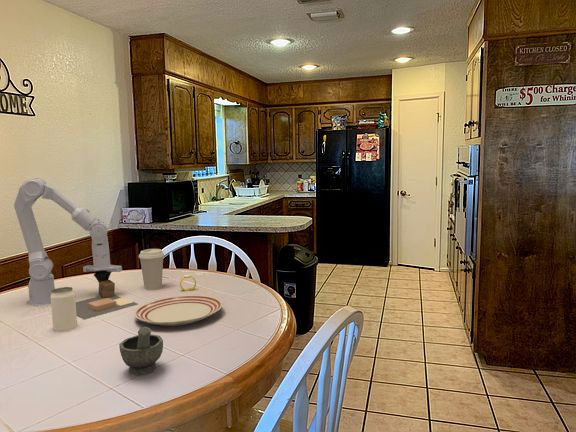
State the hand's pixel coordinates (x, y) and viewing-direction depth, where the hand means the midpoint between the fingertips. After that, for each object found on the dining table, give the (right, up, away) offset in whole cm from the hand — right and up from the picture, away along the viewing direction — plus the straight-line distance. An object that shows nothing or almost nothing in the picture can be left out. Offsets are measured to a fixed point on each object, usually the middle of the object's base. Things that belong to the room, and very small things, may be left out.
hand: (104, 290), depth 164 cm
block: (+2, -2, -2) cm, 3 cm away
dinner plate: (+34, -5, -23) cm, 41 cm away
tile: (+3, -2, -12) cm, 13 cm away
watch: (+30, -1, +5) cm, 30 cm away
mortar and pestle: (+34, -9, -60) cm, 70 cm away
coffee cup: (+16, -1, +8) cm, 18 cm away
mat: (+3, -4, -12) cm, 13 cm away
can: (+2, -6, -32) cm, 33 cm away
